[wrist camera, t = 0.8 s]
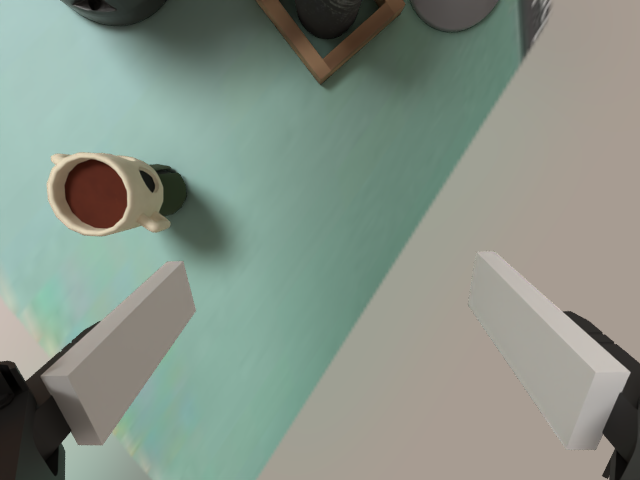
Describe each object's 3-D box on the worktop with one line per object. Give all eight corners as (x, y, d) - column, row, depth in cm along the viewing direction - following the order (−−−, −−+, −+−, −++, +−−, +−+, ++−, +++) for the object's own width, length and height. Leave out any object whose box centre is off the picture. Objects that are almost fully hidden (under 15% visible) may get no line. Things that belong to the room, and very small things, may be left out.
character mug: (215, 194, 39) (169, 202, 26) (184, 238, 40) (124, 266, 27) (140, 138, 37) (51, 116, 24) (109, 185, 38) (8, 188, 25)
